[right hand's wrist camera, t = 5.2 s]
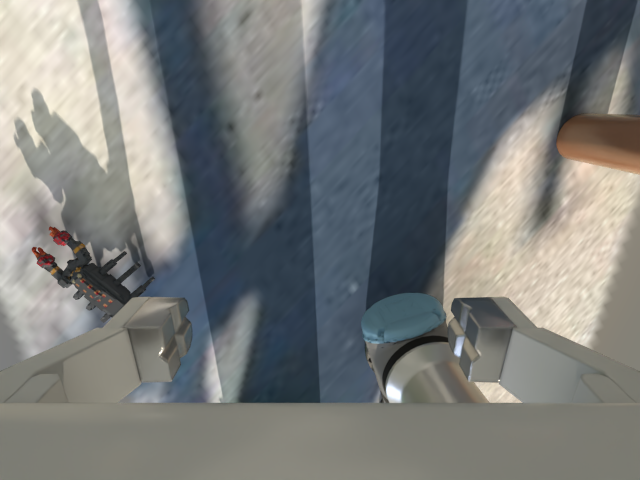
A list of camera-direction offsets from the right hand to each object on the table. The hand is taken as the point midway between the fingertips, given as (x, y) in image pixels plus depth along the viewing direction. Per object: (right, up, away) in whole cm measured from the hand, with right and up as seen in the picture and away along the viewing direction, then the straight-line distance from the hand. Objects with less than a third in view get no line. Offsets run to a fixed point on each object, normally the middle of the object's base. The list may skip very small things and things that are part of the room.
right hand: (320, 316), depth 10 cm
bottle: (+42, +19, +44) cm, 64 cm away
